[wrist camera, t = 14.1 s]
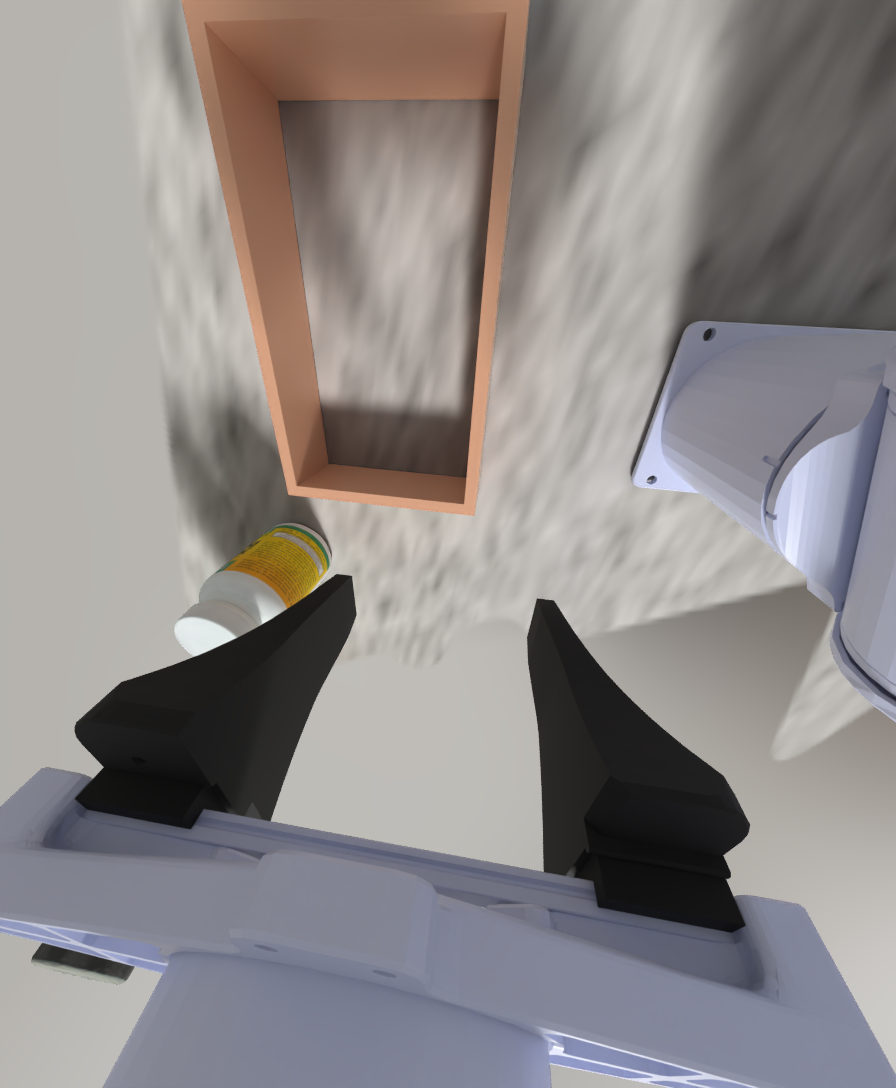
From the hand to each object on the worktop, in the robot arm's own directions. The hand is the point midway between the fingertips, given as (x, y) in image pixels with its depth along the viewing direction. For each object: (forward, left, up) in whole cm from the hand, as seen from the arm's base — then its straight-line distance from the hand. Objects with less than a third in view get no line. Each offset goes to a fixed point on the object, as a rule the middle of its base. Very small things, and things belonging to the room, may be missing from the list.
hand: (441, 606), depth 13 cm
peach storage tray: (+5, -9, -10) cm, 15 cm away
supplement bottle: (+13, +6, -11) cm, 17 cm away
